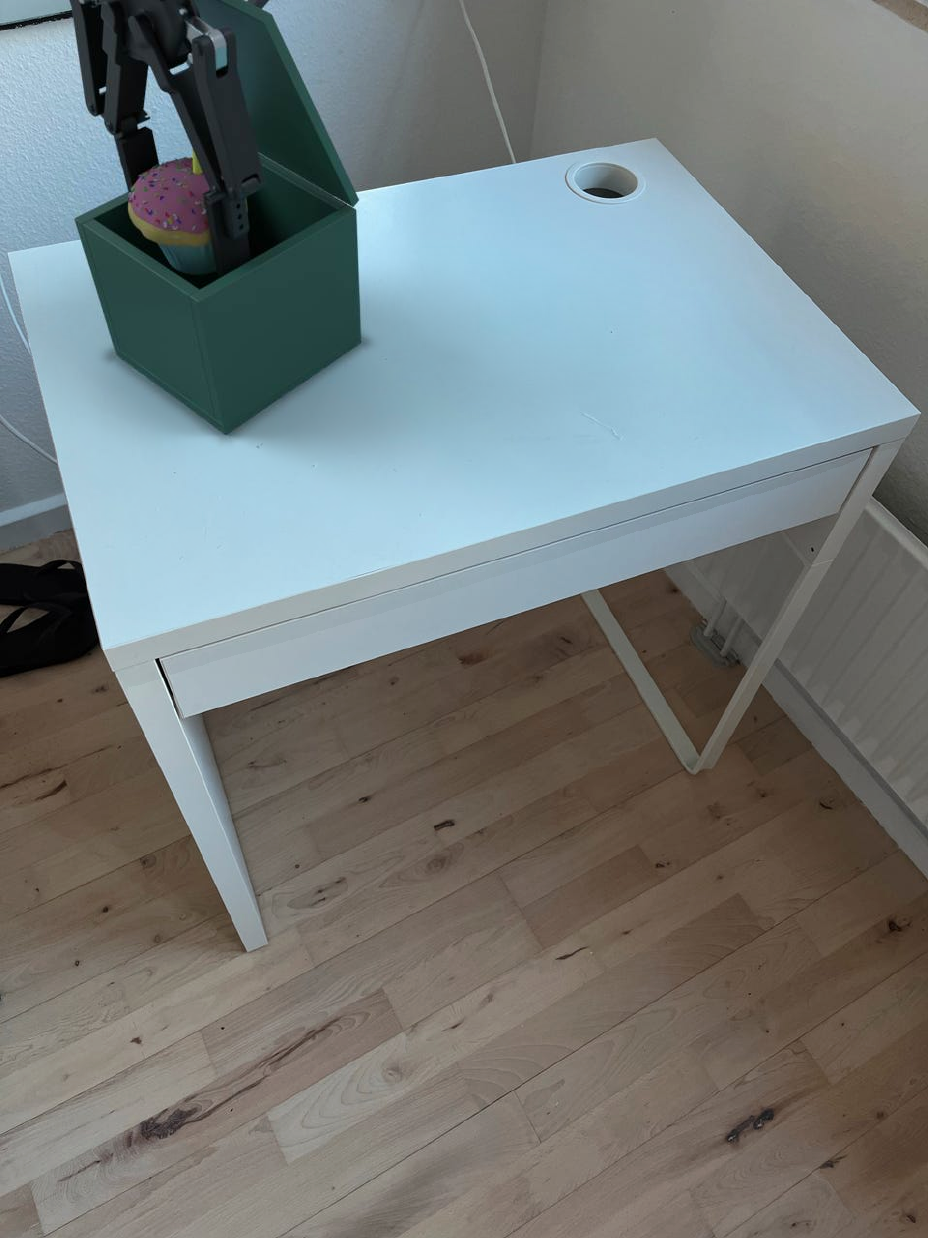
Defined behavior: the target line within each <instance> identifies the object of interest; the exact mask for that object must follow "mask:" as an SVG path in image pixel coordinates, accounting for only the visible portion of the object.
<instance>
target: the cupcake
mask: <svg viewBox="0 0 928 1238" xmlns="http://www.w3.org/2000/svg"><path fill="white" fill-rule="evenodd" d="M191 150H192V157H191V156H190V157H187V156H184V157H181V158H175V159H173V160H170V161H168V160H167V161H165V162H164V161H163V162H162V163H161V164H160V163H159V164H156V166H154V167H152V169H150V170H148V171H146V172H144V173H142V175H139V176H141V177H140V178H139V179H138V180H137V181H136V183H135V184H134V186H132V187H131V192H130V193H129V195H130V196H129V198H128V202H129V203H128V212H129V216H130V218H131V220H132V222H133V223H134V225H135V226H136V227H137V228H138V229H140V230H141V232H142V233H143V235H144V236H145V237H146V238H147V239H149V240H152V241H154V242H156V243H158V245H159V246H160V248H161V249H162V251H163V252H164V254H165V256H166V258H167V259H168V261H169V263H170V264H171V266H172V267H174V268H175V269H176V270H178V271H180V272H183V273H186V274H192V275H202V274H208V273H212V272H215V271H217V270H216V264H215V259H214V253H213V248H212V242H211V236H210V231H209V225H208V220H207V214H206V209H205V203H204V198H203V193H205V192H207V191H209V190H210V188H209V186H208V183H207V181H206V179H205V176H204V174H203V171H202V169H201V167H200V164H199V162H198V160H197V157H196V155H195V153H194V150H193V148H192V147H191ZM221 177H223V175H221ZM245 200H246V198H245ZM246 207H247V200H246ZM247 212H248V208H247Z"/></svg>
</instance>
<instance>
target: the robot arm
mask: <svg viewBox="0 0 928 1238" xmlns="http://www.w3.org/2000/svg"><path fill="white" fill-rule="evenodd" d="M68 1H69V4H70V7H71V14H72V20H73V27H74V33H75V40H76V47H77V54H78V59H79V61H78V62H79V68H80V74H81V81H82V88H83V95H84V101H85V107H86V109H87V111H88V112H89V114H90V115H91V117H94V118H96V117H98V116H99V117H101V118H102V119H103V124H104V127H105V128H106V130H107V132H108V133H109V134H110V135H111V136H113V139H114V143H115V147H116V150H117V151H116V152H117V155H118V159H119V164H120V166H121V169H122V172H123V177H124V179H125V180H124V181H125V184H126V188H127V192H128V193H130V192H131V187H132V186H134V184H135V183H136V181H137V180H138V179H139V178H140V177H141V176H139V175H142V173H144V172H146V171H148V170H150V169H152V167H154V166H156V164H160V161H159V155H158V150H157V146H156V143H155V142H156V141H155V137H154V132H153V130H152V129H151V128H150V127H148V126H146V125H144V126H142V127H140V128H139V126H138V125H141V124H142V123H145V122H147V121H149V120H151V115H149V113H148V112H147V111H146V110H145V100H146V92H147V84H148V83H147V82H148V75H149V68H150V69H151V72H152V74H153V76H154V79H155V81H156V83H157V86H158V87H159V89H160V90H161V91H162V92H164V93H167V94H168V95H169V97H170V99H171V101H172V105H173V106H174V108H175V111H176V113H177V115H178V117H179V120H180V122H181V125H182V127H183V129H184V131H185V134H186V137H187V138H188V141H189V143H190V146H191V149H192V148H193V150H194V153H195V155H196V157H197V160H198V162H199V164H200V167H201V169H202V171H203V174H204V176H205V179H206V181H207V183H208V186H209V188H210V190H209V191H207V192H205V193H203V198H204V203H205V209H206V214H207V220H208V225H209V231H210V236H211V242H212V248H213V253H214V259H215V264H216V270H217V275H218V276H219V277H223V276H225V275H226V274H228V273H230V272H232V271H233V270H235V269H237V268H238V267H240V266H242V265H244V264H245V263H247V262H249V261H251V256H250V249H249V242H248V235H247V233H248V232H249V221H248V215H247V207H246V200H245V198H246V197H248V196H250V195H252V194H253V193H255V192H257V191H259V190H261V189H263V188H264V187H265V186H266V181H265V177H264V173H263V169H262V165H261V161H260V157H259V153H258V149H257V145H256V141H255V137H254V133H253V129H252V125H251V121H250V117H249V113H248V109H247V105H246V101H245V97H244V93H243V90H242V86H241V82H240V78H239V74H238V70H237V50H236V38H235V35H234V32H233V31H232V29H231V28H230V27H229V26H227V25H225V26H222V27H220V28H217V29H213V28H212V27H211V26H209V25H208V24H206V23H205V22H204V21H202V20H201V19H200V14H199V10H198V8H197V5H196V3H195V1H194V0H68ZM187 60H189V62H190V63H191V64H190V67H189V66H188V67H187V68H185V69H183V70H180V71H178V72H175V73H172V71H171V70H173V69H175V68H177V67H180V66H182V65H184V64H186V61H187ZM104 88H105V90H103V91H102V92H100V90H101V89H104ZM221 175H223V177H221ZM129 196H130V195H129Z"/></svg>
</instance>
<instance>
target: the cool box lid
mask: <svg viewBox="0 0 928 1238" xmlns="http://www.w3.org/2000/svg"><path fill="white" fill-rule="evenodd" d="M194 1H195V3H196V5H197V8H198V10H199V14H200V19H201V20H202V21H204V22H205V23H206V24H208V25H209V26H211V27H212V28H213V29H217V28H220V27H222V26H225V25H227V26H229V27H230V28H231V29H232V31H233V32H234V35H235V38H236V50H237V70H238V74H239V78H240V82H241V86H242V90H243V93H244V97H245V101H246V105H247V109H248V113H249V117H250V121H251V125H252V129H253V133H254V137H255V141H256V145H257V149H258V153H260V154H261V155H263V156H265V157H266V158H268V159H270V160H272V161H273V162H275V163H277V164H279V165H280V166H282V167H284V168H286V169H287V170H289V171H291V172H292V173H294V174H296V175H298V176H299V177H301V178H303V179H305V180H306V181H308V182H310V183H311V184H313V185H315V186H317V187H318V188H320V189H322V190H324V191H325V192H327V193H329V194H331V195H332V196H334V197H336V198H337V199H339V200H341V201H343V202H344V203H346V204H347V205H349V206H351V207H353V208H355V206H356V205H357V203H359V201H360V199H359V196H358V194H357V192H356V190H355V187H354V186H353V183H352V181H351V179H350V177H349V175H348V173H347V171H346V169H345V166H344V164H343V162H342V160H341V158H340V156H339V153H338V152H337V149H336V147H335V145H334V143H333V141H332V139H331V137H330V135H329V132H328V130H327V129H326V126H325V124H324V122H323V120H322V118H321V116H320V113H319V111H318V109H317V107H316V105H315V103H314V101H313V98H312V96H311V94H310V93H309V89H308V88H307V86H306V83H305V82H304V80H303V77H302V75H301V73H300V71H299V69H298V67H297V64H296V63H295V61H294V58H293V56H292V54H291V52H290V50H289V47H288V46H287V43H286V41H285V39H284V36H283V35H282V32H281V31H280V29H279V26H278V24H277V22H276V20H275V18H274V16H273V14H272V13H271V12H269V11H267V10H265V9H263V8H264V7H265V6H267V4H268V3H269V1H270V0H194ZM185 64H186V65H187V66H188V68H189V67H190V64H191V63H190V62H189V60H187V61H186V62H185Z"/></svg>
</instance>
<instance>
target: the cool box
mask: <svg viewBox="0 0 928 1238" xmlns="http://www.w3.org/2000/svg"><path fill="white" fill-rule="evenodd" d="M259 157H260V161H261V165H262V169H263V173H264V177H265V181H266V186H265V187H264V188H263V189H261V190H259V191H257V192H255V193H253V194H252V195H250V196H248V197H246V200H247V208H248V212H247V215H248V221H249V232H248V233H247V235H248V242H249V249H250V256H251V261H249V262H247V263H245V264H244V265H242V266H240V267H238V268H237V269H235V270H233V271H232V272H230V273H228V274H226V275H225V276H223V277H219V276H218V275H217V271H215V272H212V273H208V274H202V275H192V274H186V273H183V272H180V271H178V270H176V269H175V268H174V267H172V266H171V264H170V263H169V261H168V259H167V258H166V256H165V254H164V252H163V251H162V249H161V248H160V246H159V245H158V243H156V242H154V241H152V240H149V239H147V238H146V237H145V236H144V235H143V233H142V232H141V230H140V229H138V228H137V227H136V226H135V225H134V223H133V222H132V220H131V218H130V216H129V212H128V203H129V202H128V198H129V193H128V191H127V192H125V193H123V194H121V195H118V196H116V197H115V198H113V199H110V200H109V201H108V200H107V202H104V203H102V204H101V205H98V206H96V207H94V208H92V209H90V210H88V211H86V212H84V213H82V214H80V215H78V216H75V217H74V218H73V219H74V224H75V226H76V229H77V232H78V236H79V239H80V243H81V246H82V249H83V251H84V255H85V258H86V262H87V265H88V268H89V271H90V275H91V277H92V281H93V284H94V287H95V290H96V294H97V297H98V301H99V304H100V307H101V310H102V313H103V316H104V320H105V323H106V326H107V329H108V333H109V336H110V339H111V342H112V345H113V348H114V351H115V355H116V356H117V357H119V358H120V359H121V360H123V361H124V362H125V363H127V364H128V365H129V366H131V367H132V368H134V369H135V370H136V371H138V372H139V373H140V374H142V375H143V376H145V377H146V378H147V379H149V380H150V381H152V382H153V383H154V384H156V385H157V386H158V387H160V388H161V389H163V390H164V391H165V392H166V393H168V394H169V395H170V396H172V397H173V398H175V399H176V400H177V401H179V402H180V403H181V404H182V405H184V406H186V407H187V408H188V409H190V410H191V411H193V412H194V413H196V415H198V416H200V417H201V418H202V419H203V420H204V421H206V422H207V423H208V424H210V425H212V426H213V427H214V428H216V429H217V430H219V432H221V433H223V434H224V435H228V434H229V433H231V432H232V431H234V430H235V429H237V428H238V427H239V426H241V425H243V424H244V423H246V422H247V421H248V420H250V419H252V418H253V417H254V416H256V415H257V414H259V413H260V412H261V411H263V410H265V409H266V408H268V407H269V406H270V405H272V404H273V403H275V402H276V401H278V400H279V399H281V398H282V397H283V396H285V395H287V394H288V393H289V392H291V391H292V390H294V389H296V388H297V387H299V386H300V385H301V384H303V383H304V382H306V381H307V380H309V379H311V378H312V377H313V376H315V375H316V374H317V373H319V372H320V371H322V370H323V369H325V368H327V367H328V366H329V365H330V364H332V363H334V362H335V361H336V360H338V359H340V358H341V357H343V356H344V355H346V354H347V353H348V352H350V351H351V350H353V349H354V348H355V347H357V346H359V345H360V344H362V326H361V325H362V324H361V323H362V322H361V298H360V297H361V296H360V295H361V293H360V270H359V268H360V267H359V266H360V265H359V244H358V243H359V240H358V215H357V209H356V208H355V207H352V206H350V205H348V204H347V203H345V202H343V201H341V200H340V199H338V198H336V197H334V196H333V195H331V194H329V193H328V192H326V191H324V190H322V189H321V188H319V187H317V186H315V185H314V184H312V183H310V182H308V181H307V180H305V179H303V178H302V177H300V176H298V175H296V174H295V173H293V172H291V171H289V170H288V169H286V168H284V167H282V166H281V165H279V164H277V163H276V162H274V161H272V160H270V159H269V158H267V157H265V156H263V155H262V154H260V153H259Z"/></svg>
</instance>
